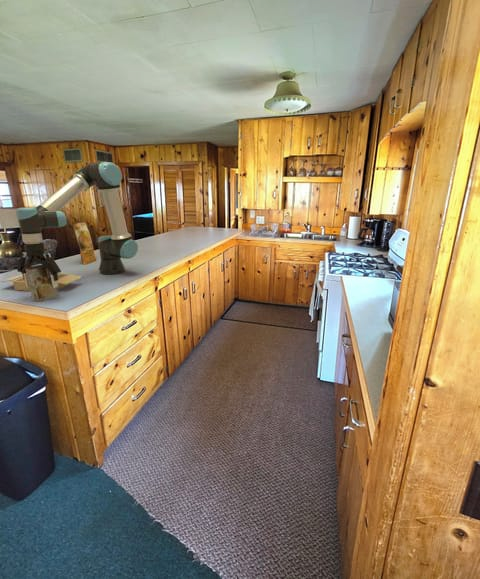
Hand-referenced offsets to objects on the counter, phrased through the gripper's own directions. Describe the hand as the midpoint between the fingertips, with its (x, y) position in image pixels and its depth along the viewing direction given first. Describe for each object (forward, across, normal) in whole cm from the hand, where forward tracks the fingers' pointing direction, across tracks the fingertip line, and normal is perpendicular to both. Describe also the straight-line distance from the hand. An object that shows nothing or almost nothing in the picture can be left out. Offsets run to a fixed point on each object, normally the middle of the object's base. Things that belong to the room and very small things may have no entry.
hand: (42, 286), depth 141 cm
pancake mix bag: (+5, +22, -72) cm, 76 cm away
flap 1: (0, +24, -16) cm, 29 cm away
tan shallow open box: (+6, +13, -16) cm, 22 cm away
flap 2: (0, +2, -16) cm, 16 cm away
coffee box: (+6, 0, 0) cm, 6 cm away
